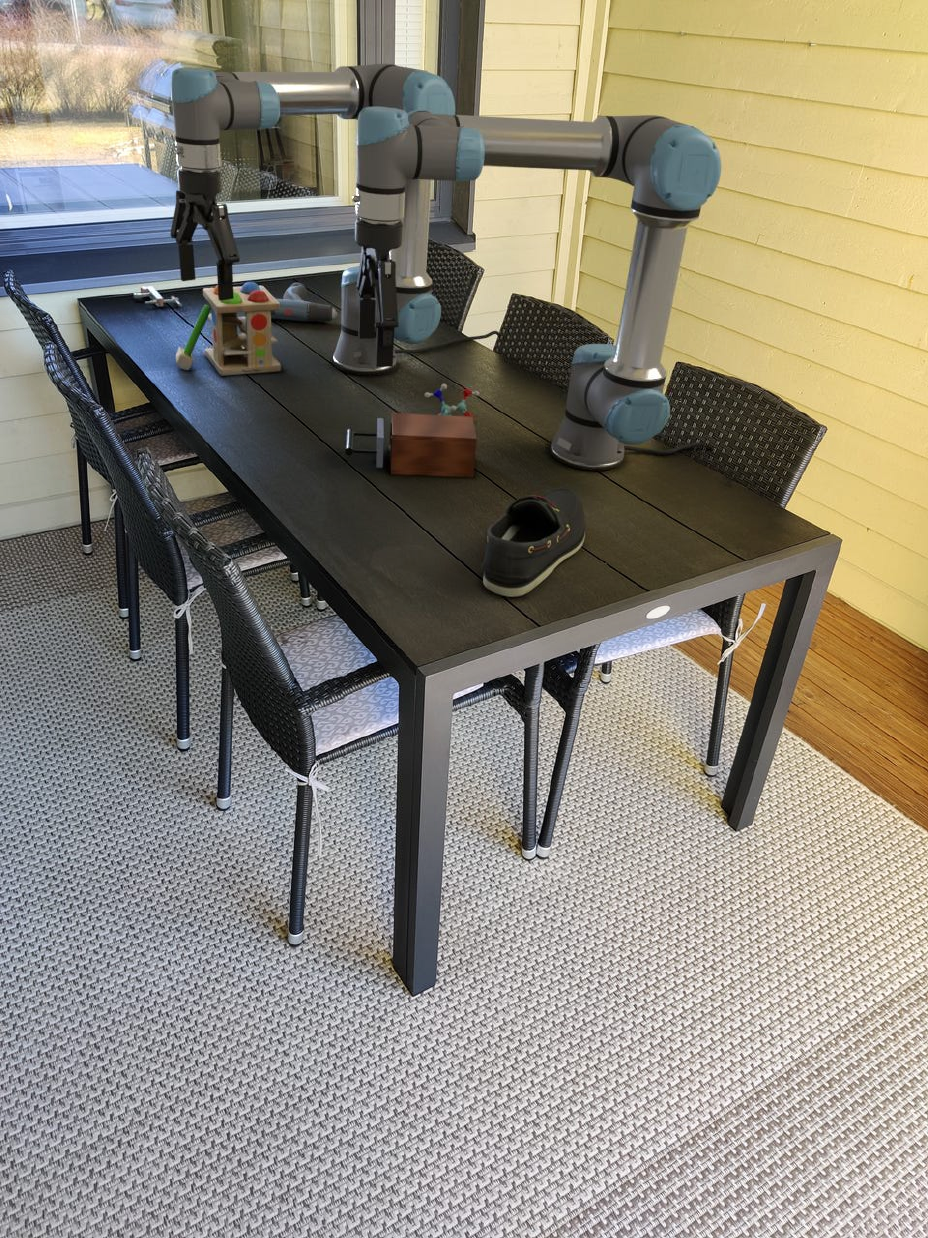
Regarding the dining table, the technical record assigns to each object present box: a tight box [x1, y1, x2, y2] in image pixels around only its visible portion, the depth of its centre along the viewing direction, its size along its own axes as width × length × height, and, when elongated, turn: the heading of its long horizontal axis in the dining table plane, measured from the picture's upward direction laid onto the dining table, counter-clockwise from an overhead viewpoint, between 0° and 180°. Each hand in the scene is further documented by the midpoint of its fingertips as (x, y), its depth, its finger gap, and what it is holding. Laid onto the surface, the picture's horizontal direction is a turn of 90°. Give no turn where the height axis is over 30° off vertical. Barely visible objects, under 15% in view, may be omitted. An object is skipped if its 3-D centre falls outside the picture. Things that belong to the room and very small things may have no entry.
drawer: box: [344, 417, 392, 469], centre depth 193 cm, size 21×9×6 cm, turn 94°
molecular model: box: [424, 383, 480, 418], centre depth 211 cm, size 12×10×10 cm
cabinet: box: [390, 412, 478, 478], centre depth 193 cm, size 16×11×8 cm, turn 94°
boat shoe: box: [481, 487, 586, 598], centre depth 167 cm, size 13×33×10 cm, turn 147°
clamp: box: [133, 285, 183, 308], centre depth 263 cm, size 15×2×10 cm
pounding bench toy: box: [174, 281, 282, 377], centre depth 225 cm, size 23×14×18 cm, turn 116°
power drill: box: [271, 282, 338, 322], centre depth 265 cm, size 5×19×20 cm
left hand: (206, 289), depth 186 cm, fingers open, 13 cm apart
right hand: (374, 351), depth 165 cm, fingers open, 13 cm apart
